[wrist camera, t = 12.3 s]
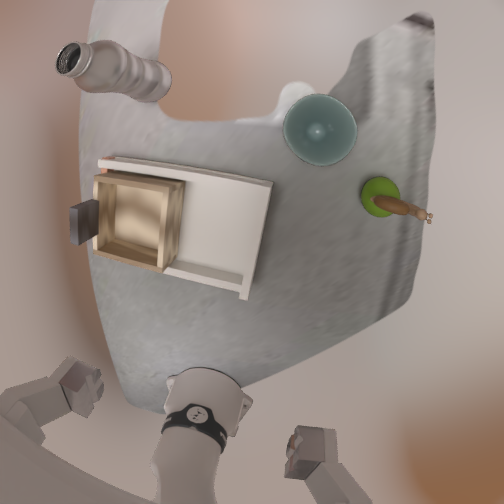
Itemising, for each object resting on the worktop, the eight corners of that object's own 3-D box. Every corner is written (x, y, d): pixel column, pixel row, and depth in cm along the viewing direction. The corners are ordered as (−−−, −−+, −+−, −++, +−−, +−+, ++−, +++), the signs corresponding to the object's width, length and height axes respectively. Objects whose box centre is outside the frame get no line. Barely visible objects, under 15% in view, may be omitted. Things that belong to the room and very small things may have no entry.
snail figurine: (394, 216, 39) (427, 243, 28) (354, 208, 40) (376, 233, 29) (401, 180, 37) (438, 195, 26) (360, 171, 38) (386, 182, 27)
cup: (315, 172, 39) (322, 181, 29) (273, 133, 38) (267, 130, 28) (353, 133, 36) (372, 131, 27) (311, 94, 35) (317, 79, 26)
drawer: (177, 257, 45) (146, 290, 35) (111, 240, 45) (72, 266, 35) (185, 180, 40) (151, 194, 30) (114, 169, 41) (69, 181, 31)
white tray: (252, 283, 46) (247, 300, 41) (108, 247, 47) (91, 258, 42) (273, 182, 40) (270, 187, 35) (112, 155, 41) (92, 159, 36)
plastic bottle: (169, 106, 38) (83, 90, 19) (132, 101, 38) (39, 89, 19) (181, 66, 35) (104, 25, 17) (143, 63, 35) (56, 31, 17)
